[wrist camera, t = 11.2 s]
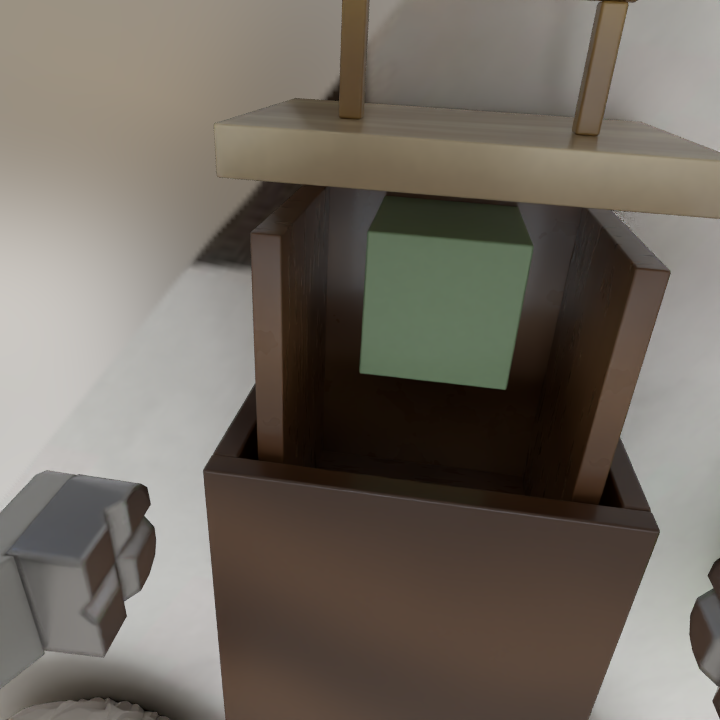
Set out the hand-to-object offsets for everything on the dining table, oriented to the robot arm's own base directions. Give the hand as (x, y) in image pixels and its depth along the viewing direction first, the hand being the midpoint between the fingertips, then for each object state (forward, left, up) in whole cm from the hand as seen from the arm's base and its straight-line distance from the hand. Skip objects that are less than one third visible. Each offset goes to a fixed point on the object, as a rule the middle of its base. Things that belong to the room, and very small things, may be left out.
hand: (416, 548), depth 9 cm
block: (0, 0, -14) cm, 14 cm away
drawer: (0, 0, -15) cm, 15 cm away
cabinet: (0, -12, -16) cm, 20 cm away
